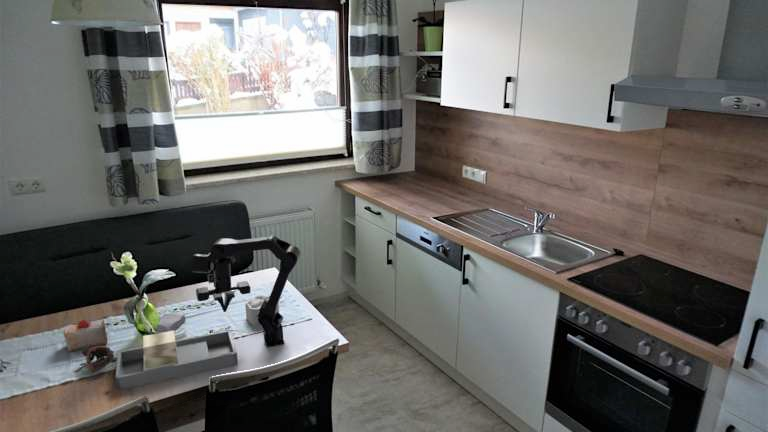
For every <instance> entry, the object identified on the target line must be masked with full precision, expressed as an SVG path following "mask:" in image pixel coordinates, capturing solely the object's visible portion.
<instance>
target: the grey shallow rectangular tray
mask: <svg viewBox="0 0 768 432" xmlns="http://www.w3.org/2000/svg"><path fill="white" fill-rule="evenodd" d="M176 347H177V356H178V362H176V363H171V364H166V365H161V366H156V367H151V368H147V369H146V364H145V358H144V351H143V346H139V347H133V348H129V349H124V350H119V351H117V359H116V370H115V383H116V384H115V385H116V391H121V390H125V389H130V388H134V387H139V386H140V387H141V386H143V385H149V384H152V383H158V382H163V381H168V380H171V378H172V379H175V378H179V377H185V376H189V375H194V374H197V373H198V374H199V373H204V372H208V371H212V370H217V369H223V368H225V367H226V368H227V367H230V366H236V365H239V360H238V352H237V348H236V346H235V341H234V338H233V334H232V331H231V329H229V330H228V329H227V330H222V331H217V332H213V333H208V334H207V333H206V334H201V335H196V336H191V337H186V338H181V339H176Z"/></svg>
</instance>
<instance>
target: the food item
mask: <svg viewBox="0 0 768 432" xmlns="http://www.w3.org/2000/svg"><path fill="white" fill-rule="evenodd" d="M106 331H107V330H106V324H105V320H104V319H102V320H101V319H99V320H95V321H89V320H86V319H85V318H83V319H81V320H80V321H79V322H77V324H73V325H70V326H66V328H65V329H64V330H63V331H62V335H63V336H64V340H65V341H64V342H65V346H66V349H67V350H68V352H69V353H70V352H74V351H78V350H79V351H80V350H83V349H84V348H94V347H96V346H104V345H106V344H108V334H107V332H106Z"/></svg>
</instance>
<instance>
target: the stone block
mask: <svg viewBox="0 0 768 432" xmlns="http://www.w3.org/2000/svg"><path fill="white" fill-rule="evenodd" d="M159 318H160V322H159V323H158V324H157V333H163V332H168V331H173V330H174V331H176V330H177V329H179V327H181V326H182V325H183V324H184V323H185V321H186V315H185V314H182V313H177V312H170V313H169V312H168V313H165V314H163V315H162V316H160V317H159Z"/></svg>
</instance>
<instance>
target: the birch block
mask: <svg viewBox="0 0 768 432" xmlns="http://www.w3.org/2000/svg"><path fill="white" fill-rule="evenodd" d="M175 331H176V330H175ZM175 331H174V330H173V331H168V332H163V333H157V334H156V333H153V334H147V335H143V336H142V347H143V351H144V358H145V364H146V369H147V368H151V367H156V366H161V365H166V364H171V363H176V362H178V356H177V347H176V340H177V339H176V333H175Z"/></svg>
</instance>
